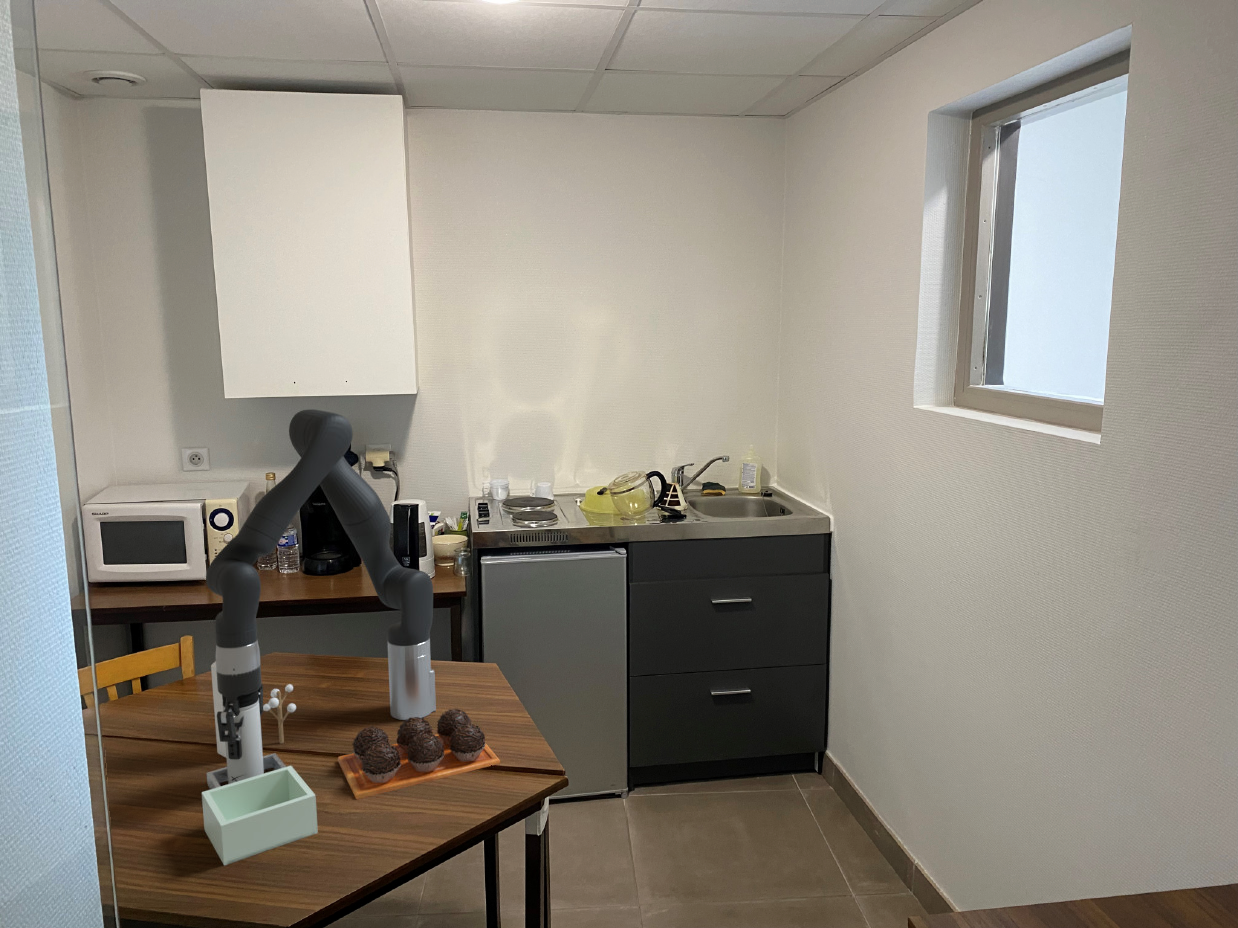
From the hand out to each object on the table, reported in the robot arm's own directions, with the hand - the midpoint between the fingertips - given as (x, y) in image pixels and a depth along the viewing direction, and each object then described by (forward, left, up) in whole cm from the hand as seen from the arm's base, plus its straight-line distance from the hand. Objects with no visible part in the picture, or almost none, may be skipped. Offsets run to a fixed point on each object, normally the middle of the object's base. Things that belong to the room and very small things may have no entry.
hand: (244, 749), depth 163 cm
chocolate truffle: (-29, +12, -8) cm, 33 cm away
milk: (-3, -15, -7) cm, 17 cm away
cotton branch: (-11, -14, -7) cm, 19 cm away
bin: (+2, +18, -7) cm, 20 cm away
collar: (-1, +1, -7) cm, 7 cm away
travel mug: (0, 0, -7) cm, 7 cm away
